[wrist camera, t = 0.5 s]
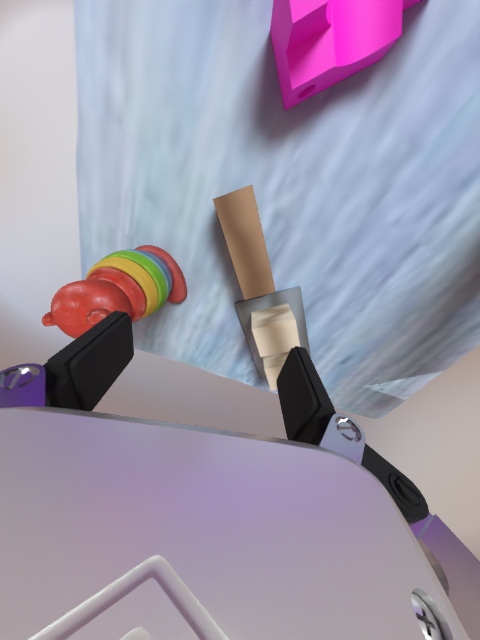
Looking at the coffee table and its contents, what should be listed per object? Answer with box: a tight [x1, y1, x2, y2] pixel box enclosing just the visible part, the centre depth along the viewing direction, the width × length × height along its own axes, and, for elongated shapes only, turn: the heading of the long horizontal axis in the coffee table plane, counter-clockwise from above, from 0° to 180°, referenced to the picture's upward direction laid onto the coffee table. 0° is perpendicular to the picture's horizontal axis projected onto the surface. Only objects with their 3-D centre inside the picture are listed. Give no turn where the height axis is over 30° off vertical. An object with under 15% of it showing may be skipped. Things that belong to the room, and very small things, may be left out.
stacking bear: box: [42, 245, 187, 339], centre depth 25 cm, size 11×10×18 cm
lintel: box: [213, 185, 276, 300], centre depth 28 cm, size 5×14×5 cm, turn 17°
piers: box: [235, 286, 311, 391], centre depth 35 cm, size 12×20×7 cm, turn 17°
